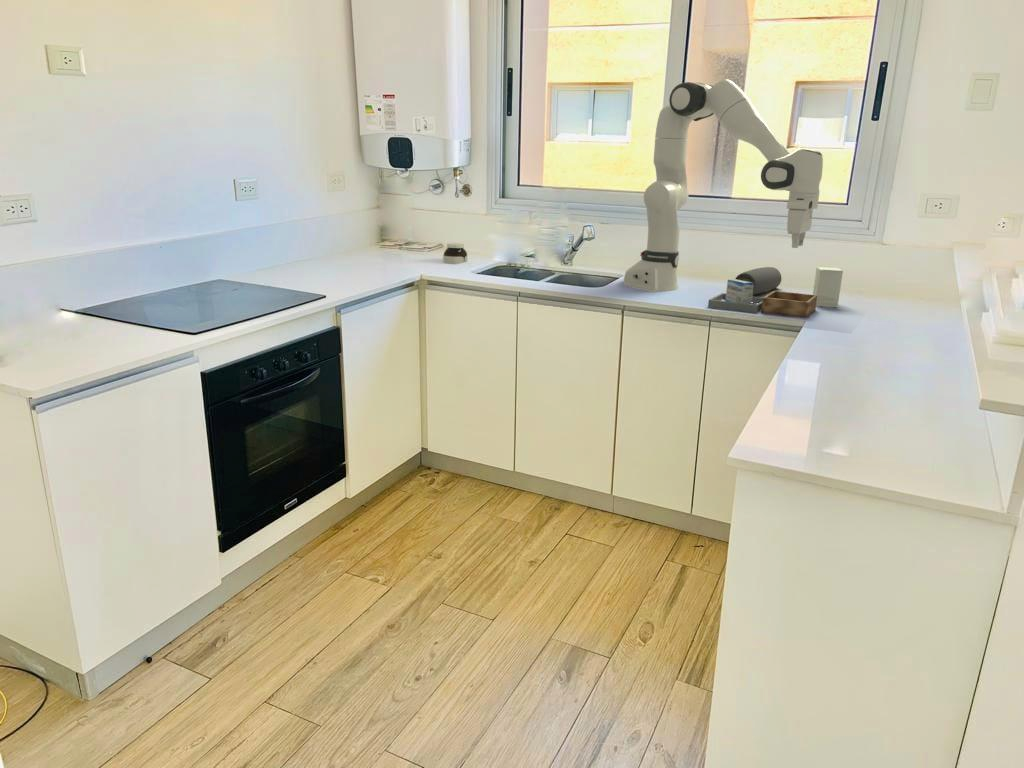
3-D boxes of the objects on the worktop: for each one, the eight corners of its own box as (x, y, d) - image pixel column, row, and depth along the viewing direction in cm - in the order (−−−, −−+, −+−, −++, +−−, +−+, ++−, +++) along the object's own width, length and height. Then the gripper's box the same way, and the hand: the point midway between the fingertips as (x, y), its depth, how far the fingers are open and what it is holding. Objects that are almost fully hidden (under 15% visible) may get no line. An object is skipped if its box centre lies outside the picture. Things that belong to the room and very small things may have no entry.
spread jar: (455, 274, 305) (455, 245, 301) (433, 271, 311) (433, 243, 307) (472, 271, 314) (473, 243, 311) (451, 268, 320) (451, 240, 317)
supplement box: (837, 308, 254) (843, 270, 251) (814, 306, 256) (820, 269, 252) (833, 304, 261) (839, 267, 258) (811, 302, 263) (816, 266, 259)
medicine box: (724, 304, 255) (727, 279, 253) (733, 303, 257) (736, 278, 255) (741, 309, 249) (744, 283, 246) (751, 308, 251) (754, 282, 248)
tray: (707, 307, 250) (708, 299, 249) (721, 300, 263) (722, 293, 263) (756, 313, 242) (757, 305, 242) (768, 305, 256) (768, 298, 255)
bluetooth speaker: (757, 290, 285) (760, 264, 282) (781, 293, 279) (784, 267, 276) (730, 298, 268) (733, 270, 265) (755, 301, 262) (758, 273, 259)
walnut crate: (761, 312, 243) (762, 297, 242) (772, 305, 256) (773, 290, 255) (806, 318, 236) (808, 302, 235) (815, 310, 250) (817, 295, 248)
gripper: (798, 200, 246) (793, 243, 250) (786, 203, 229) (780, 248, 233) (819, 201, 243) (813, 244, 247) (807, 204, 226) (801, 250, 230)
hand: (797, 246), depth 240 cm, fingers open, 6 cm apart
